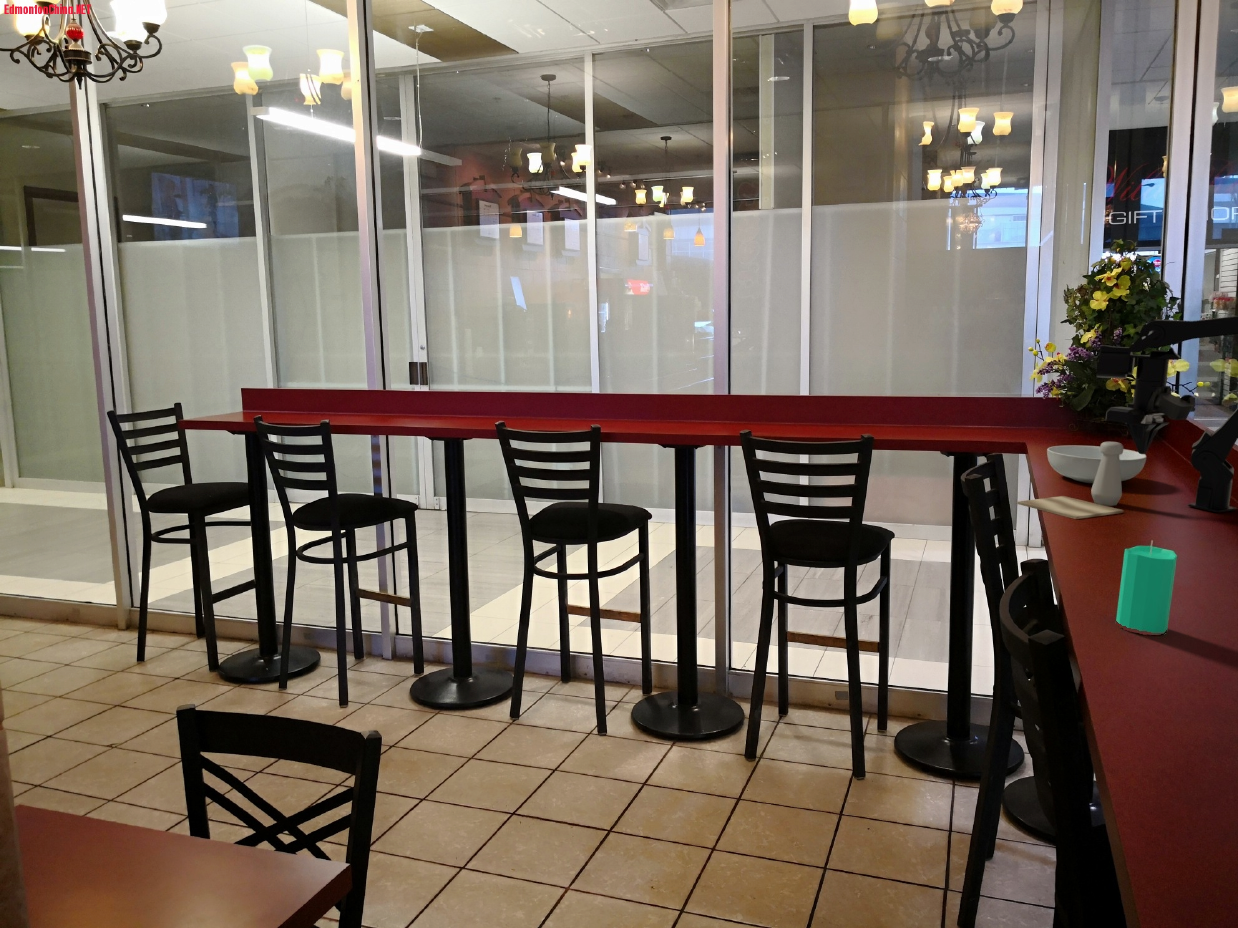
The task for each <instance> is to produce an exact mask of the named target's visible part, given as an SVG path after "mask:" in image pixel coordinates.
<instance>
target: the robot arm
mask: <svg viewBox="0 0 1238 928" xmlns="http://www.w3.org/2000/svg"><path fill="white" fill-rule="evenodd" d="M1232 335H1238V315H1234V316H1226V317H1225V316H1223V317H1217V318H1208V319H1200V320H1181V319H1179V320H1176V319H1153V320H1151V321H1148V322H1146V323H1145V324H1144V325H1143V326H1142V327H1141V329H1140V331H1139V337H1138V339H1136V340H1135V341H1133V342H1132V343H1131V344H1130V347H1129V346H1125V347H1123V346H1113V345H1106V344H1105V345H1102V346H1101V347H1100V350H1099V351H1100V352H1099V356H1098V360H1097V361H1096V362H1097V363H1096V374H1095V375H1096V378H1105V379H1106V378H1107V379H1122V380H1124V379H1125V380H1126V379H1127V377H1128V376H1129V375H1133V374H1134V369H1135V368H1134V367H1135V363H1136V362H1135V360H1136V359H1137V364H1136V372H1135V379H1134V383H1133V384H1132V383H1131V384H1129V390H1133V399H1132V403H1130V402H1129V403H1127V406H1111V407H1109V408H1108V409H1107V410H1106V413H1105V421H1109V422H1110V421H1111V422H1117V423H1121V424H1125V425H1126V427H1127V429H1128V431H1129V434H1130V435H1131V438H1132V440H1133V442H1134V446H1135V447H1136V450H1137V452H1138V453H1139V454H1145V455H1146V454H1147V453H1148V450H1149V448H1150V447H1151V445H1152V442H1153V440H1154V438H1155V436H1156V435H1157V433H1158V431H1159V430H1160V429H1162V428H1163V427H1165V426H1168V425H1169V424H1170V422H1169V421H1164V418H1163V417H1167V418H1169V419H1170V420H1173V421H1181V420H1182V421H1183V420H1185V421H1186V420H1187V419H1188V417H1189V415H1190V413H1194V412H1195V411H1196V396H1194V395H1191V394H1184V395H1182V396H1179V395H1178V396H1177V395H1174V394H1172V387H1171V386H1170V385H1167V381H1168V371H1169V362H1170V361H1172V360H1173V361H1178V360H1179V359H1180V358H1181V356H1180V355H1179V354H1178V353H1177V352H1176V351H1175V349H1174V348H1173V347H1170V348H1169V349H1168V350H1166V351H1165V350H1150V354H1133V353H1141V352H1142V351H1145V350H1146V349H1148V348H1150V349H1160V348H1163V347H1168V346H1171V345H1176V344H1179V343H1182V342H1186V341H1189V340H1190V341H1191V340H1194V339H1204V338H1213V337H1214V338H1216V337H1223V336H1232ZM1237 440H1238V407H1237V408H1236V409H1235V410H1234V411H1233V413H1232V414H1231V415H1230V416H1229V417H1228V418H1227V419H1226V420H1225V421H1224V423H1223V424H1222V425H1221V426H1220V427H1219V428H1217V429H1216V430H1214V431H1213V432H1211V430H1208V428H1207V429H1205V430H1204V432H1203V434H1202V435H1201V437H1200V438H1199V439H1198V440H1197V441H1196V442H1194V443H1193V444H1192V446H1191V450H1192V452H1191V455H1190V463H1191V465H1192V467H1193V468H1194V469H1195V470H1196V471H1197V472H1199V475H1200V476H1199V478H1198V481H1197V487H1196V496H1195V502H1191V503H1188V504H1187V507H1191V508H1196V509H1199V510H1204V511H1209V512H1214V513H1217V514H1218V513H1225V512H1232V511H1237V507H1235V506H1230V501H1231V496H1232V495H1231V494H1232V490H1233V489H1232V488H1233V477H1234V475H1235V474H1234V473H1235V472H1234V471H1235V468H1234V467H1233V466H1232V465H1231V464H1230V462H1229V461H1228V460H1227V458H1228V456H1229V455H1230V453H1231V451H1232V449H1233V447H1234V446H1235V444H1236V442H1237Z"/></svg>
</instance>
